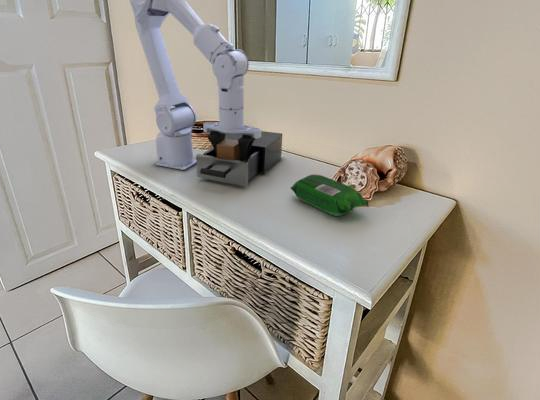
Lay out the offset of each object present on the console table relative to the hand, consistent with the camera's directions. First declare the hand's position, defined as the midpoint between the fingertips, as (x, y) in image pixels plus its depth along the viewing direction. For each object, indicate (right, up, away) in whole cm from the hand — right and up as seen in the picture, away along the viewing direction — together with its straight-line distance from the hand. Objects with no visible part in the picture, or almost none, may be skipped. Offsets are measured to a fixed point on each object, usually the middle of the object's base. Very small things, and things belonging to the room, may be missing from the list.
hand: (231, 162), depth 83 cm
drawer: (-1, -3, 0) cm, 3 cm away
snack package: (+20, -11, -13) cm, 26 cm away
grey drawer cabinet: (+5, +1, +10) cm, 11 cm away
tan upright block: (-1, -2, 0) cm, 2 cm away
